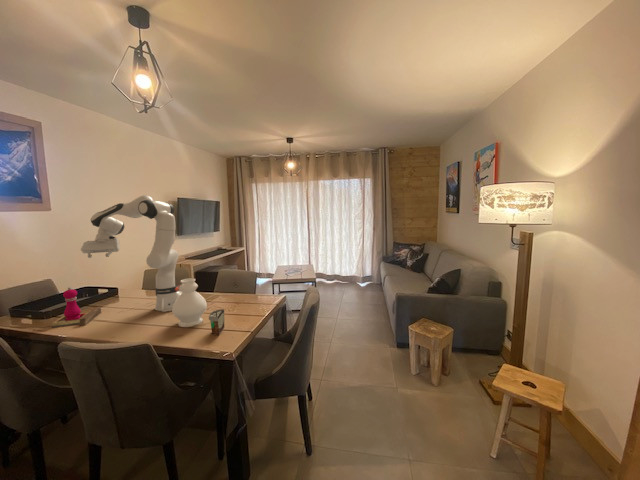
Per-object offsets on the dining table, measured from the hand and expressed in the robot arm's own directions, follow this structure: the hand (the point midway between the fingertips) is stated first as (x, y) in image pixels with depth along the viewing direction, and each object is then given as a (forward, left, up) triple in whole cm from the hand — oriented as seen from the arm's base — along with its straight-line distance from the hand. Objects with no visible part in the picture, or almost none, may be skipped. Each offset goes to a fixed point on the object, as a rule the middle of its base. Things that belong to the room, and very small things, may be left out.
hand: (98, 256), depth 170 cm
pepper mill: (+8, +18, -35) cm, 40 cm away
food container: (-72, +65, -36) cm, 104 cm away
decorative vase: (-58, +47, -36) cm, 83 cm away
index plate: (+8, +18, -35) cm, 41 cm away
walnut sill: (-1, +18, -35) cm, 40 cm away
